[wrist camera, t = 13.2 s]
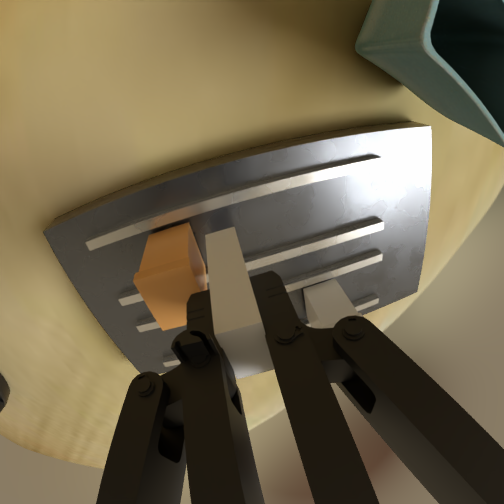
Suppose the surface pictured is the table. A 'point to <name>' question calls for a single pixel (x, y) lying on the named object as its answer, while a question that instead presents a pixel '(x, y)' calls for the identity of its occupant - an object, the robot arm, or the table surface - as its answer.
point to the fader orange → (170, 274)
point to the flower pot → (443, 56)
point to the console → (263, 226)
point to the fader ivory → (327, 304)
